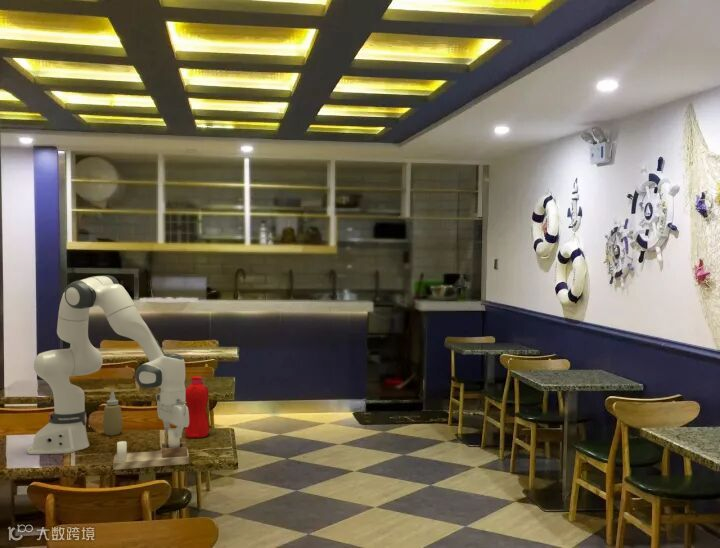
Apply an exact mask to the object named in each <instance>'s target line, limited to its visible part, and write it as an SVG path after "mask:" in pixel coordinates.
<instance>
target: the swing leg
mask: <svg viewBox="0 0 720 548" xmlns="http://www.w3.org/2000/svg"><path fill="white" fill-rule="evenodd" d="M116 443H117V444H116V454H117V461H119V462H122V461H126V460H127V453H128V452H127V449H128V445H127V444H128V443H127V440H126V441H125V440H122V441H121V440H120V441H117V442H116Z"/></svg>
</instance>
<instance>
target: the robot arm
mask: <svg viewBox="0 0 720 548" xmlns="http://www.w3.org/2000/svg"><path fill="white" fill-rule="evenodd" d="M60 300H61V301H60V302H59V303H60V304H59V309H58V315H57V327H56V334H57V337H58V338H59V339H60V340H62V341H64V342H66V343H67V344H70V345H69V346H70V347H68V348H61V349H51V350H47V351H43V352H40V353H38V354H37V356H36V357H35V358H34V362H33V370H34V372H35V374H36V375H37V376H38V377H39V378H40V379H42V380H44V381H45V382H46V383H47V384H48V385H49V387H50V389H51V391H52V394H53V395H52V397H53V403H54V404H53V405H54V407H53V408H54V411H51V412H49V414H48V423H47V424H45V426H43V427H42V428H41V429H39V431H38V430H37V432H36V433H35V435H34V436H33V442H32V443H33V444H30V445H29V446H28V447H27V448H26V454H28V455H48V454H49V455H52V454H53V455H54V454H56V455H57V454H71V453H73V452H77V451H80V450H81V451H82V450H84V449H87V448H88V447H90V442H89V438H88V434H87V427H86V425H87V413H86V412H87V410H86V409H85V407H86V405H85V402H86V401H85V391H84V390H83V389H82V388H81V386H78V385H75V384H73V383H71V381H70V377H78V376H88V375H90V374H93V373H96V372H99V370H101V367H102V366H103V360H104V359H103V355H102V353H101V351H100V350H99V349H98V348H96V347H94V346H93V344H92V343H91V340H90V339H89V319H90V310H91V308H93V307H97V306H98V307H99V308H101V309H102V310H103V312H104V313H103V314H104V315H105V317H106V320H107V322H108V323H109V326H110V327H111V329H112V330H113V331H114V332H115V333H116V334H117V335H119V336H122V337H125V338H128V339H130V340H132V341H135V342H136V343H137V344H138V345H139V347H140V348H141V349H142V351H143V353H144V355H145V356H146V358H147V359H148V362H145V363H143V364H141V365H140V366H138V367H137V369H136V370H135V375H134V377H135V381H136V383H137V385H138V386H139V387H141V388H142V389H146V390H147V389H148V390H149V389H154V388H159V389H160V392H159V393H157V394H156V395H155V400H156V409H157V417H158V419H159V420H162V422H163V426H164V433H166V434H168V429H171V425H172V426H175V428H176V429H177V433H176V438H180V439H182V437H183V436H182V435H183V432H184V429H185V427H188V426H189V412H188V407H187V404H185V403H186V400H185V391H186V385H185V380H186V362H185V359H184V356H182V355H180V354H178V353H173V352H172V353H170V352H168V353H165V352H164V350H163V349H162V347H161V345H160V343H159V341H158V340H157V338H156V336H155V335H154V333H153V332H152V330H151V328H149V325H147V323H146V322H145V321H144V319H143V318H142V316H141V314H140V312H139V311H138V309H137V307H136V305H135V303H134V301H133V299H132V297H131V296H130V294H129V292H128V291H127V290H126V289H125V287H124V286H123V285H122V284H120V283H119V281H118V280H117V278H116V277H114V276H112V275H108V274H107V275H106V274H104V275H96V276H90V277H86V278H83V279H79V280H75V281H73V282H71V283H69V284H68V285H67V286H66V287H65V290H64V292H63V294H62V297H61V299H60Z"/></svg>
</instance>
